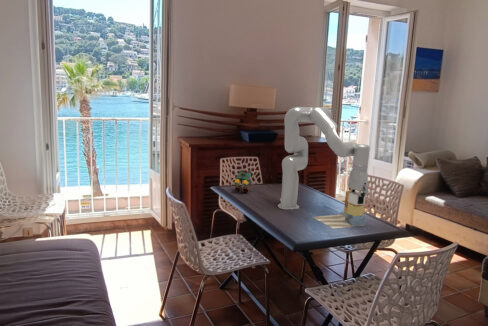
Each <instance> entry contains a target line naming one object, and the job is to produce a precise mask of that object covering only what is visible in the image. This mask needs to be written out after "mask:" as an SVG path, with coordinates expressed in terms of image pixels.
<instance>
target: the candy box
mask: <svg viewBox="0 0 488 326" xmlns="http://www.w3.org/2000/svg"><path fill="white" fill-rule="evenodd" d="M355 192H359V191H355ZM349 193H350V190H349V189H346V191H345V197H344V198H345V199H344V208H343V215H344V216H345V213H347V206H348V204H352V203H349V202H348V196H349ZM361 193H362V192H361Z"/></svg>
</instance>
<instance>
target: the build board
mask: <svg viewBox="0 0 488 326" xmlns="http://www.w3.org/2000/svg"><path fill="white" fill-rule="evenodd" d="M365 217H366V216H365V214H364V215H363V216H352V215H350V214H348V213H345V216H344V214H330V215H319V216H312V218H313V219H315V220H316V221H319V222H320V223H322V224H323V225H325V226H327V227H329V228H331V229H342V228H343V229H344V228H351V227H361V226H362V227H363V226H365V220H366V219H365Z"/></svg>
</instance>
